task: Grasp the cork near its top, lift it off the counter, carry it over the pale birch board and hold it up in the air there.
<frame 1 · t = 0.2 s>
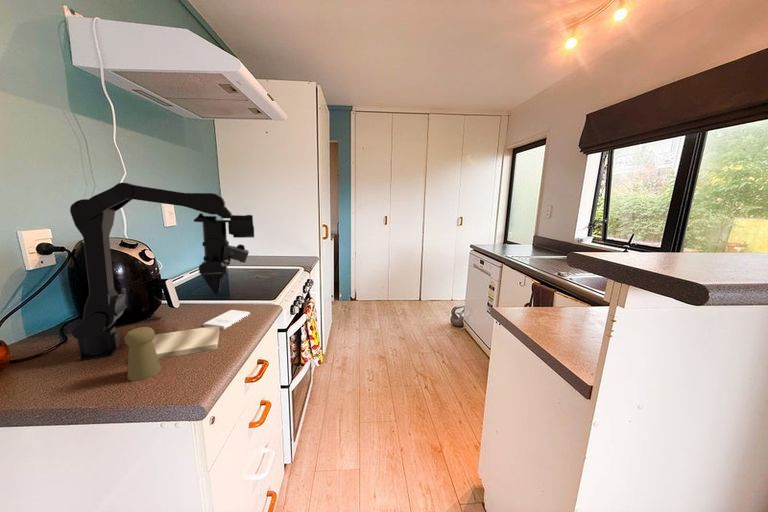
hand: (218, 289, 82), 14 cm above the countertop, tool pointing down, fingers open, 9 cm apart
birch board: (181, 344, 78), on the countertop
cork: (144, 373, 65), on the countertop
external hard drive: (227, 322, 96), on the countertop
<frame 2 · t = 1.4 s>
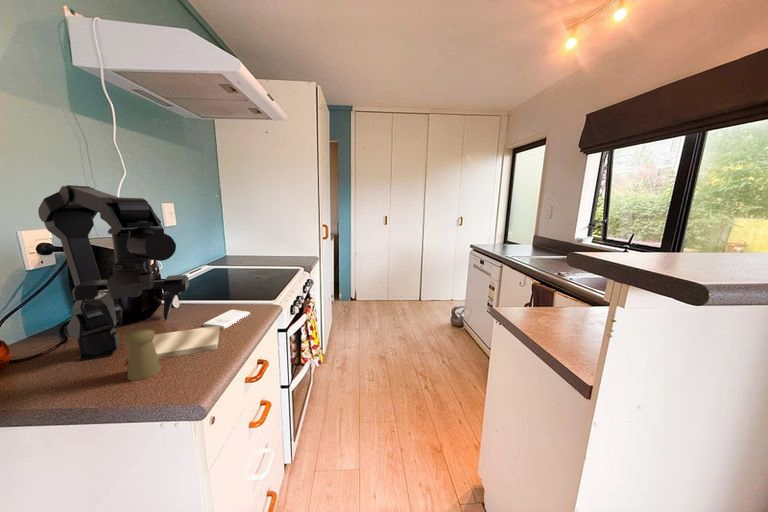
hand: (140, 322, 63), 12 cm above the countertop, tool pointing down, fingers open, 9 cm apart
nothing on the countertop moved.
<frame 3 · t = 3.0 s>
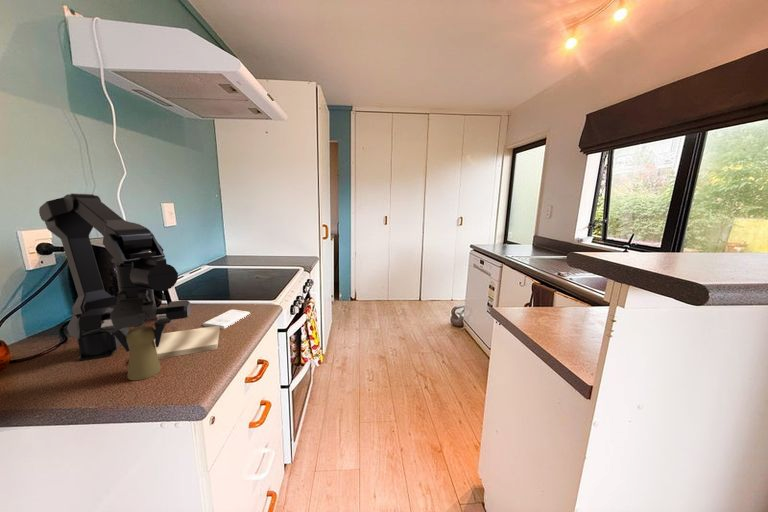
hand: (143, 348, 64), 6 cm above the countertop, tool pointing down, fingers closed on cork, 5 cm apart
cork: (144, 373, 65), on the countertop, touching gripper
everything else where it was.
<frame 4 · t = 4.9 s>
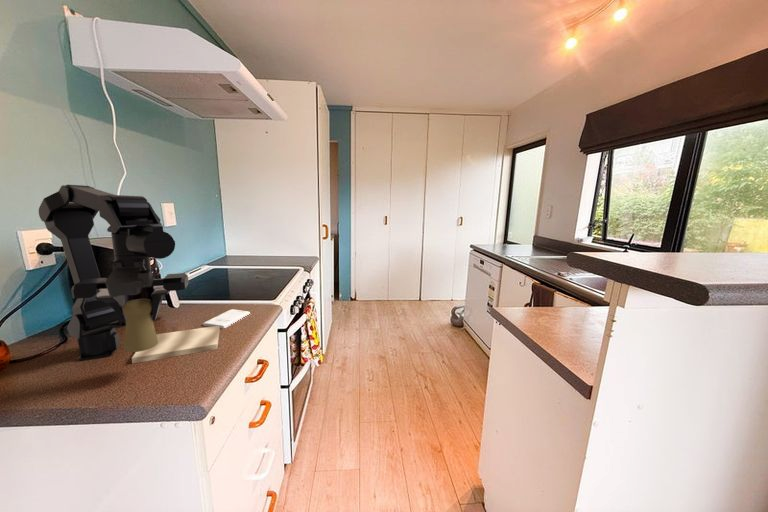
hand: (140, 320, 63), 13 cm above the countertop, tool pointing down, fingers closed on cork, 5 cm apart
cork: (141, 346, 64), point 7 cm above the countertop, touching gripper
everything else where it was.
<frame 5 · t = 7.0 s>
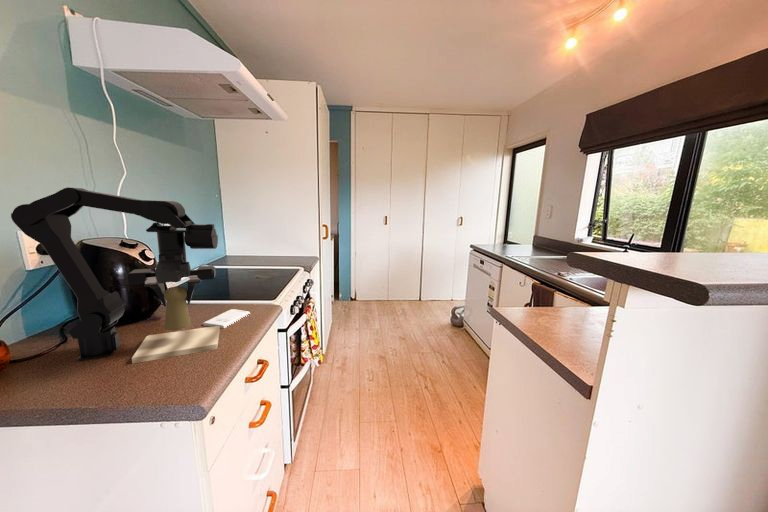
hand: (177, 304, 76), 12 cm above the countertop, tool pointing down, fingers closed on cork, 5 cm apart
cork: (178, 326, 77), point 6 cm above the countertop, touching gripper
everything else where it was.
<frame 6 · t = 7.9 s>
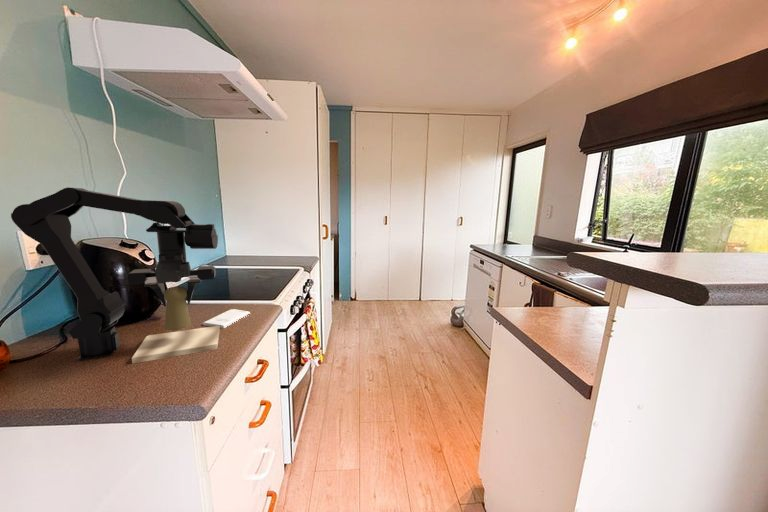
hand: (177, 304, 76), 12 cm above the countertop, tool pointing down, fingers closed on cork, 5 cm apart
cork: (178, 326, 77), point 6 cm above the countertop, touching gripper
everything else where it was.
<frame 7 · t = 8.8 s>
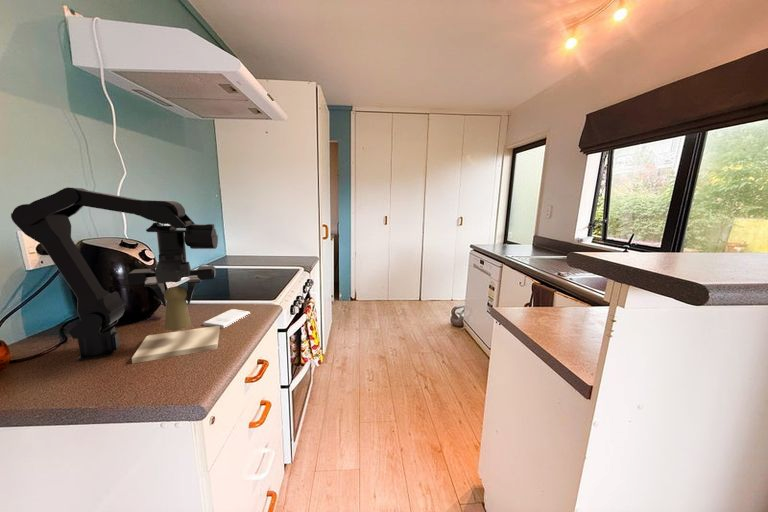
hand: (177, 304, 76), 12 cm above the countertop, tool pointing down, fingers closed on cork, 5 cm apart
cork: (178, 326, 77), point 6 cm above the countertop, touching gripper
everything else where it was.
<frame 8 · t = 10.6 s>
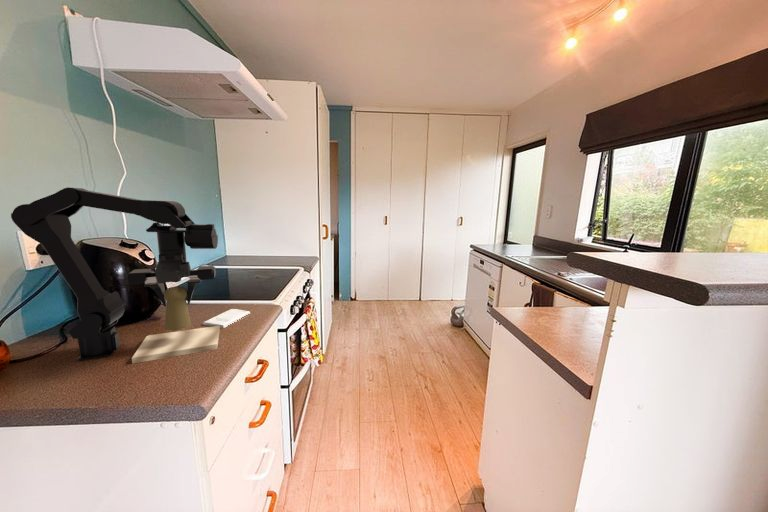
hand: (177, 304, 76), 12 cm above the countertop, tool pointing down, fingers closed on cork, 5 cm apart
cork: (178, 326, 77), point 6 cm above the countertop, touching gripper
everything else where it was.
at the end: the gripper is holding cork; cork point 5.8 cm above the countertop; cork 0.5 cm from the birch board (horizontally) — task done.
